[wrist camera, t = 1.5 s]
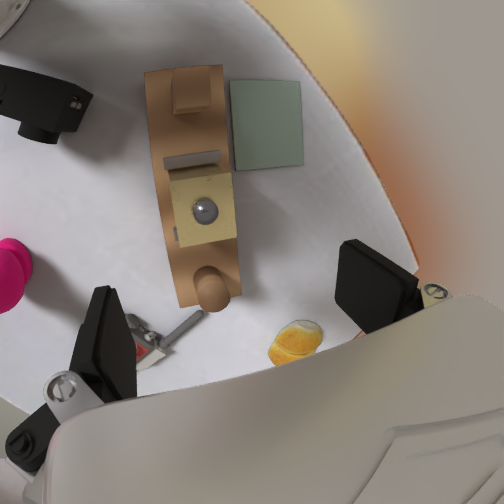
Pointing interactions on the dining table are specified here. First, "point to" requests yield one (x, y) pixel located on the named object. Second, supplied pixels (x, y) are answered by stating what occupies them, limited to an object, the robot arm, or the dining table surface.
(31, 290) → the dining table surface
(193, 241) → the lever cap
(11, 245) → the pepper mill
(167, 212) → the plane body
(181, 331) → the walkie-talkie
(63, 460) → the robot arm
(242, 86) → the felt pad
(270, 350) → the bread roll
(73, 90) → the digital camera
